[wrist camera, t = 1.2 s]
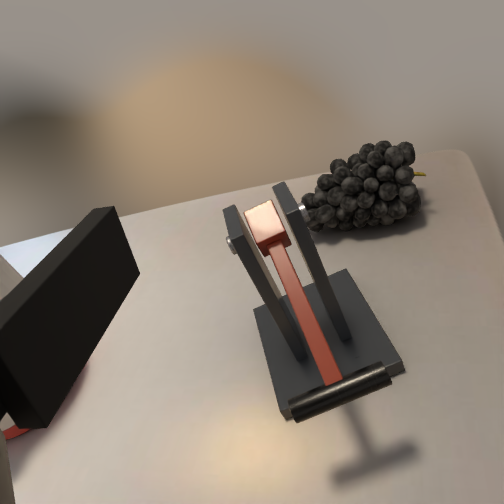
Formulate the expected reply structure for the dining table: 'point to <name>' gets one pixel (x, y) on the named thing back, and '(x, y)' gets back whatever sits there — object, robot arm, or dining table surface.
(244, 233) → the bracket
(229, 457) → the dining table surface
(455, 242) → the dining table surface
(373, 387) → the lever
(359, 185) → the fruit
